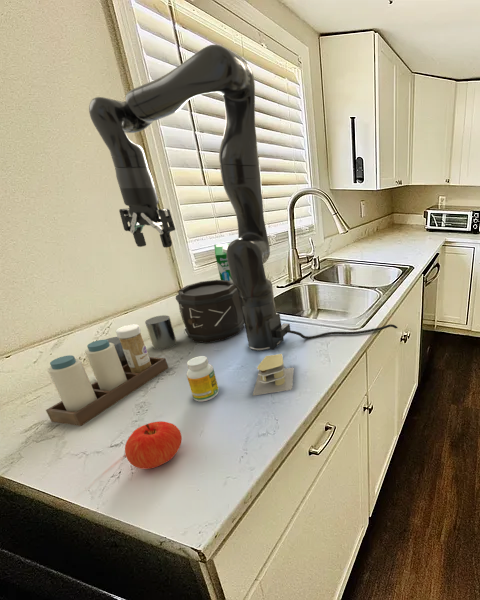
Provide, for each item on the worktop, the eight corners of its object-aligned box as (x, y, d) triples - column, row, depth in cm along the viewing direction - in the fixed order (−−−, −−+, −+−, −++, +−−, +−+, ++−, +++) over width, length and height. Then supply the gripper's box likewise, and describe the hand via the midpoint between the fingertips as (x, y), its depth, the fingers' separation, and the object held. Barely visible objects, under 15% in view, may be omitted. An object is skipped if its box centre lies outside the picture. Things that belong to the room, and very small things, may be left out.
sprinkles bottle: (153, 375, 84) (137, 328, 79) (131, 381, 82) (113, 333, 77) (154, 367, 88) (139, 322, 83) (133, 372, 85) (116, 326, 80)
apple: (120, 478, 56) (105, 442, 53) (153, 442, 64) (141, 409, 61) (166, 477, 56) (153, 442, 53) (194, 442, 64) (183, 409, 61)
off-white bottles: (135, 386, 80) (117, 338, 75) (82, 420, 69) (57, 367, 64) (118, 384, 81) (99, 337, 76) (63, 417, 70) (37, 365, 65)
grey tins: (181, 342, 102) (174, 316, 99) (120, 379, 84) (108, 348, 81) (165, 340, 103) (157, 314, 100) (101, 376, 85) (88, 346, 82)
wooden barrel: (171, 342, 102) (156, 295, 96) (213, 318, 118) (203, 277, 113) (220, 347, 98) (208, 299, 93) (257, 322, 115) (248, 280, 109)
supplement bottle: (194, 391, 79) (184, 357, 75) (219, 385, 81) (211, 352, 77) (192, 405, 74) (181, 369, 71) (219, 398, 76) (209, 363, 73)
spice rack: (168, 369, 88) (165, 358, 86) (81, 427, 68) (75, 414, 66) (144, 366, 89) (141, 355, 88) (52, 423, 69) (45, 410, 68)
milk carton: (228, 314, 122) (213, 248, 113) (227, 306, 129) (214, 244, 120) (254, 310, 126) (242, 246, 117) (252, 302, 133) (240, 241, 124)
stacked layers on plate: (258, 372, 86) (255, 354, 84) (293, 367, 88) (291, 349, 86) (252, 395, 77) (248, 376, 75) (291, 389, 79) (288, 370, 77)
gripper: (172, 185, 89) (186, 244, 94) (128, 185, 91) (145, 243, 97) (147, 186, 82) (165, 250, 88) (100, 187, 84) (121, 248, 90)
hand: (154, 246), depth 92 cm, fingers open, 8 cm apart
